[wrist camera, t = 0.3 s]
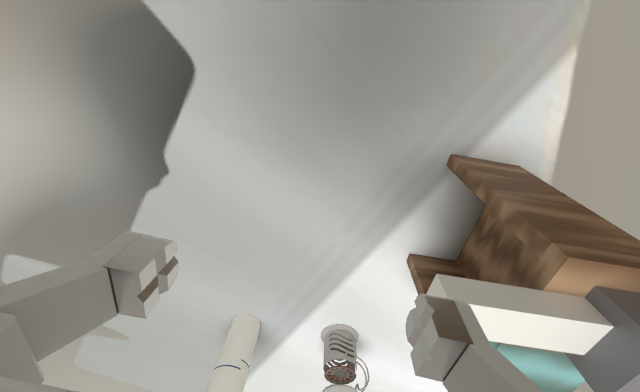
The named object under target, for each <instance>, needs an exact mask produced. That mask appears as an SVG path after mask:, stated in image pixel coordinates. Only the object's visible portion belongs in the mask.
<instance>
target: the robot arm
mask: <svg viewBox="0 0 640 392" xmlns="http://www.w3.org/2000/svg"><path fill="white" fill-rule="evenodd" d="M177 252H178V247H177V243H176V242H174V241H171V240H167V239H162V238H158V237H154V236H150V235H146V234H145V235H144V234H140V233H136V232H132V231H129V232H125V233H123V234H122V235H120V236H119V237H118V238H117V239H115V240H114V241H112V242H111V243H110V244H108V245H107V246H106V247H104V248H103V249H102V250H100V251H99V252H98V253H96V254H95V255H94V256H92V257H91V258H90V259H88V260H87V261H86V262H85V263H82V262H77V263H73V264H70V265H67V266H64V267H61V268H58V269H55V270H51V271H48V272H45V273H42V274H39V275H36V276H33V277H29V278H26V279H23V280H20V281H17V282H14V283H11V284H7V285H4V286H1V287H0V392H78V391H73V390H68V389H63V388H58V387H54V386H49V385H43V384H41V383H42V382H43V381H44V374H43V372H42V370H41V368H40V366H39V364H38V361H40V360H41V359H43V358H45V357H46V356H48V355H50V354H52V353H53V352H55V351H57V350H58V349H60V348H62V347H64V346H65V345H67V344H69V343H71V342H72V341H74V340H75V339H77V338H79V337H81V336H82V335H84V334H86V333H88V332H89V331H91V330H93V329H95V328H96V327H98V326H100V325H101V324H103V323H105V322H107V321H108V320H110V319H112V318H113V317H115V316H117V314H123V315H128V316H134V317H139V318H145V319H146V318H147V317H148V315H149V314H150V313H151V312H152V310H153V309H154V308H155V307H156V305H157V304H158V303H159V302H160V297H159V295H160V294H162V293H164V292H166V291H168V290H169V289H170V287H171V286H172V285H173V283H174V281H175V279H176V277H177V275H178V270H179V262H178V260H177V259H176V258H175V257H174V255H175V254H176V253H177ZM415 304H416V308H414V309H412V310H411V311H410V312H409V315H408V317H407V321H406V335H407V340H408V342H409V343H410V344H411V345H412V346H413V350H412V352H411V358H412V362H413V367H414V371H415V375H416V376H420V377H425V378H429V379H433V380H437V381H441V382H443V385H444V386H445V388H446V389H447V390H448V392H543V391H542V390H541V389H539V388H538V387H537V386H536V385H535V384H534V383H533V382H532V381H531V380H530V379H529V378H527V377H526V376H525V375H524V374H523V373H522V372H521V371H520V370H519V369H518V368H517V367H515V366H514V365H513V364H512V363H511V362H510V361H509V360H508V359H507V358H506V357H505V356H503V355H502V354H501V353H500V352H499V351H498V350H495V349H492V347H491V345H490V343H489V341H488V339H487V337H486V335H485V333H484V331H483V329H482V328H481V326H480V324H479V322H478V320H477V318H476V316H475V314H474V312H473V310H472V308H471V306H470V305H469V304H468V303H467V302H462V301H457V300H452V299H451V300H450V299H446V298H441V297H436V296H431V295H426V294H422V293H421V294H419V295H418V296H417V298H416V300H415Z"/></svg>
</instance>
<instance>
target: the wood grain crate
mask: <svg viewBox="0 0 640 392" xmlns="http://www.w3.org/2000/svg"><path fill="white" fill-rule="evenodd" d="M447 166H448V167H449V168H450V169H451V170H452V171H453V172H454V173H455V174H456V175H457V176H458V177H459V178H460V179H461V180H462V181H463V182H464V183H465V184H466V185H467V186H468V187H469V188H470V189H471V190H472V191H473V192H474V193H475V194H476V195H477V196H478V197H479V198H480V199H481V200H482V201H483V202H484V203H485V204H486V206H485V208H484V210H483V212H482V213H481V215H480V217H479V219H478V221H477V223H476V225H475V227H474V228H473V230H472V232H471V234H470V236H469V238H468V240H467V242H466V244H465V245H464V247H463V249H462V251H461V253H460V255H459V257H458V259H457V260H456V261H452V260H446V259H440V258H434V257H427V256H421V255H415V254H409V256H408V259H407V264H408V266H409V269H410V272H411V275H412V278H413V281H414V284H415V287H416V289H417V292H418V295H419V294H421V293H422V294H426V293H427V291H428V289H429V287H430V285H431V283H432V282H433V280H434V278H435V276H436V274H441V275H448V276H454V277H460V278H466V279H473V280H479V281H485V282H492V283H498V284H504V285H511V286H517V287H523V288H529V289H536V290H542V291H548V292H555V293H561V294H567V295H573V296H580V297H585V296H586V295H587V294H588V293H589V292H590V290H591V289H592V288H593V287H594V286H600V287H606V288H613V289H619V290H625V291H631V292H638V293H640V241H639V240H638V239H636V238H634V237H633V236H631V235H630V234H628V233H626V232H625V231H623V230H622V229H620V228H618V227H617V226H615V225H613V224H612V223H610V222H608V221H607V220H605V219H604V218H602V217H600V216H599V215H597V214H596V213H594V212H592V211H591V210H589V209H587V208H586V207H584V206H583V205H581V204H579V203H578V202H576V201H575V200H573V199H571V198H570V197H568V196H566V195H565V194H563V193H561V192H560V191H558V190H557V189H555V188H554V187H552V186H550V185H549V184H547V183H545V182H544V181H542V180H541V179H539V178H537V177H536V176H534V175H533V174H531V173H529V172H528V171H526V170H524V169H523V168H521V167H520V166H515V165H510V164H504V163H498V162H493V161H487V160H481V159H475V158H470V157H464V156H458V155H453V154H451V155H450V158H449V160H448V163H447ZM489 343H490V345H491V347H492V349H495V350H498V351H499V352H500V353H501V354H502V355H503V356H505V357H506V358H507V359H508V360H509V361H510V362H511V363H512V364H513V365H514V366H515V367H517V368H518V369H519V370H520V371H521V372H522V373H523V374H524V375H525V376H526V377H527V378H529V379H530V380H531V381H532V382H533V383H534V384H535V385H536V386H537V387H538V388H539V389H541V390H542V391H543V392H572V391H574V390H575V389H576V388H577V387H578V386H579V385H580V384H582V383H583V382H584V381H585V379H584V378H583V376H582V375H581V374H580V373H579V371H578V370H577V369H576V367H575V366H574V365H573V363H572V362H571V361H570V359H569V358H568V357H567V356H566V354H565V353H564V352H559V351H552V350H546V349H539V348H533V347H526V346H519V345H513V344H506V343H499V342H493V341H489Z"/></svg>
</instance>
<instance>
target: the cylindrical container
mask: <svg viewBox="0 0 640 392" xmlns="http://www.w3.org/2000/svg"><path fill="white" fill-rule="evenodd" d="M260 326H261V323H260V321H259V319H258V318H256V317H255V316H253V315H250V314H239V315H237V316H235V317H234V319H233V321H232V324H231V327H230V329H229V332H228V335H227V337H226V340H225V342H224V345H223V348H222V350H221V353H220V356H219V358H218V361H217V364H216V366H215V369H214V372H213V374H212V377H211V379H210V382H209V385H208V387H207V390H206V392H243V389H244V386H245V382H246V378H247V374H248V371H249V367H250V363H251V360H252V356H253V352H254V348H255V345H256V341H257V337H258V333H259V330H260Z"/></svg>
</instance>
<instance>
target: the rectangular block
mask: <svg viewBox="0 0 640 392" xmlns="http://www.w3.org/2000/svg"><path fill="white" fill-rule="evenodd" d="M426 295H431V296H436V297H441V298H446V299H450V300H451V299H452V300H457V301H462V302H467V303H468V304H469V305H470V306H471V308H472V310H473V312H474V314H475V316H476V318H477V320H478V322H479V324H480V326H481V328H482V329H483V331H484V333H485V335H486V337H487V339H488V341H493V342H499V343H506V344H513V345H519V346H526V347H533V348H539V349H546V350H552V351H559V352H564V353H565V354H566V356H567V357H568V358H569V359H570V361H571V362H572V363H573V365H574V366H575V367H576V369H577V370H578V371H579V373H580V374H581V375H582V376H583V378H584V379H585V380H586V382H587V383H588V384H589V386H590V387H591V388H592V390H593V391H594V392H640V293H638V292H631V291H625V290H619V289H613V288H606V287H600V286H594V287H593V288H592V289H591V290H590V292H589V293H588V294H587V295H586V296H585V297H580V296H573V295H567V294H561V293H555V292H548V291H542V290H536V289H529V288H523V287H517V286H511V285H504V284H498V283H492V282H485V281H479V280H473V279H466V278H460V277H454V276H448V275H441V274H436V276H435V278H434V280H433V282H432V283H431V285H430V287H429V289H428V291H427V293H426Z"/></svg>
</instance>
